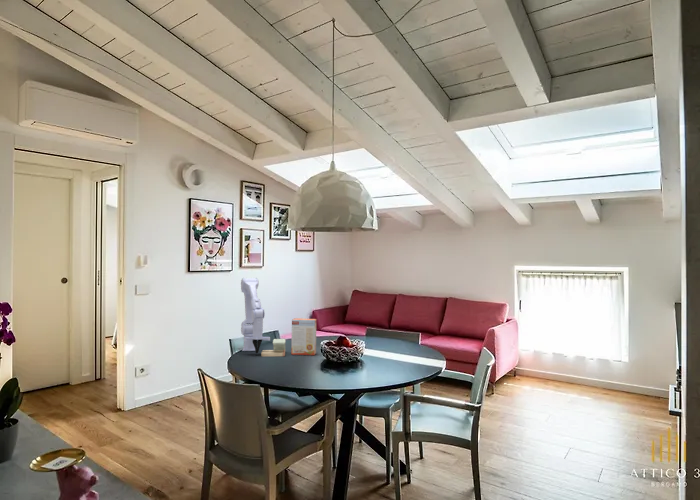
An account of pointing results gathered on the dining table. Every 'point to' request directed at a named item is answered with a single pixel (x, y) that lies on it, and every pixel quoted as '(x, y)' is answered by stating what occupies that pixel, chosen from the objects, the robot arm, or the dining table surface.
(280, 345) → the overhang
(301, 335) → the cracker box
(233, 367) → the dining table surface
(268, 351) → the panel
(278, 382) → the dining table surface
